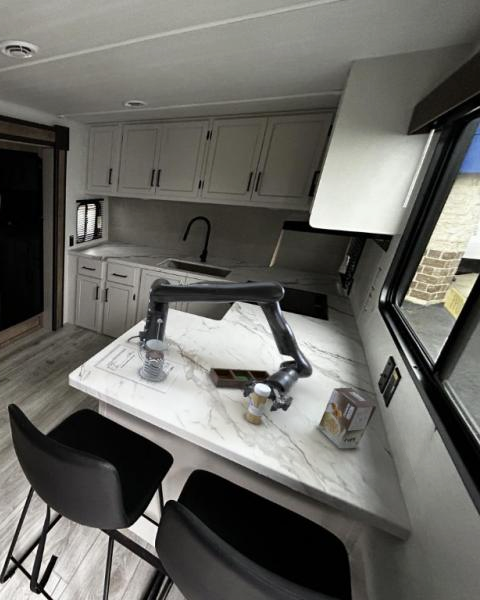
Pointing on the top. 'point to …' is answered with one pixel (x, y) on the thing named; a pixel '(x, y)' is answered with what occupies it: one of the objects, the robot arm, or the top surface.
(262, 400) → the brown spice jar
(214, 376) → the tray
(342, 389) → the coffee box
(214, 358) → the top surface
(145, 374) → the french press
